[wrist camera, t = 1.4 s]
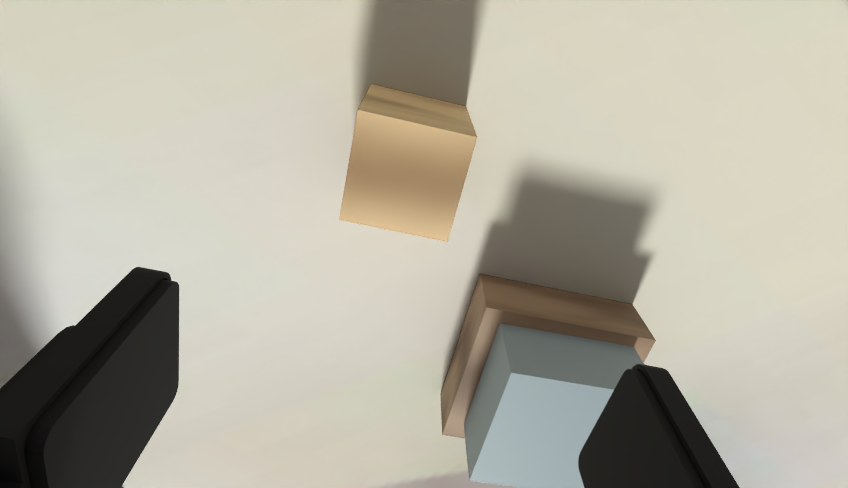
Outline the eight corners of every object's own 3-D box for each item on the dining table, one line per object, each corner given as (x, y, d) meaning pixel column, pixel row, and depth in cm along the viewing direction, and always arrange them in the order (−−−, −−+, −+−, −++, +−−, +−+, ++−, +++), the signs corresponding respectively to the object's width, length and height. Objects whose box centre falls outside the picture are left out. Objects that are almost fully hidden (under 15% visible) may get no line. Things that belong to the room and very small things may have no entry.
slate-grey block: (583, 442, 32) (604, 499, 29) (463, 424, 32) (469, 480, 28) (633, 346, 29) (663, 397, 25) (499, 323, 28) (511, 372, 24)
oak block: (442, 193, 28) (447, 242, 23) (355, 174, 28) (339, 219, 23) (466, 106, 26) (476, 137, 21) (371, 83, 26) (357, 109, 20)
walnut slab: (573, 412, 37) (590, 459, 33) (440, 389, 36) (442, 434, 32) (629, 300, 32) (655, 340, 29) (479, 270, 31) (486, 307, 28)
